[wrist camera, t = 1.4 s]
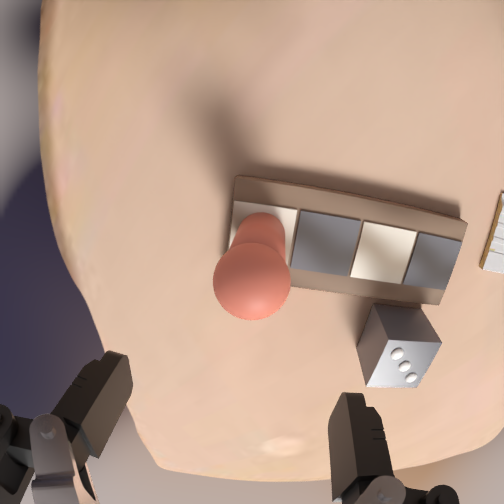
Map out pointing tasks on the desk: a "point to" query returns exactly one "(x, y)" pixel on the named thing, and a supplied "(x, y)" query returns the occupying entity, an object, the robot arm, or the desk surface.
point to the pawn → (254, 269)
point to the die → (396, 346)
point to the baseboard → (495, 242)
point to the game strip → (355, 240)
